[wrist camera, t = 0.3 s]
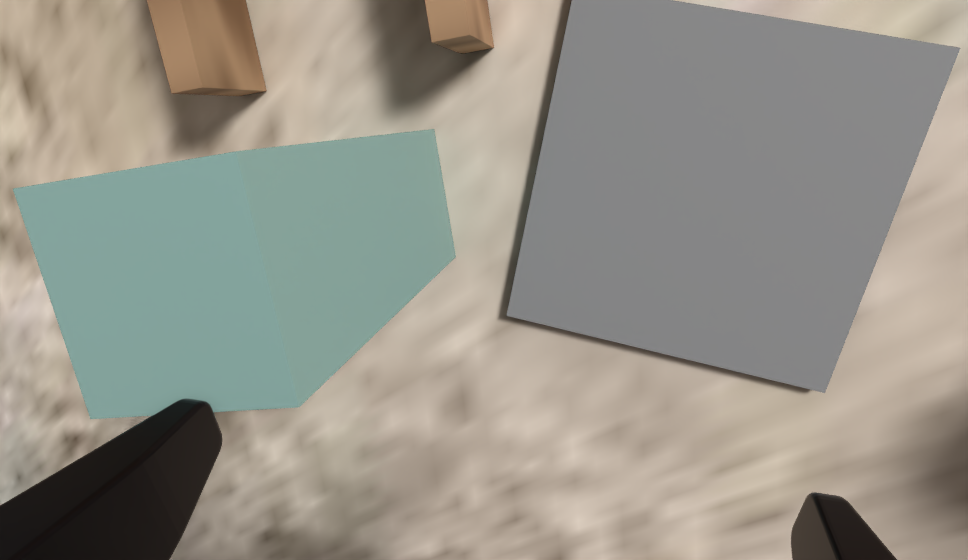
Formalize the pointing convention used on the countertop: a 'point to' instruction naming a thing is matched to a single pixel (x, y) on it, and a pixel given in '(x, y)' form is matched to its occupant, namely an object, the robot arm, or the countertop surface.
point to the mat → (721, 182)
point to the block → (236, 268)
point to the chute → (232, 49)
